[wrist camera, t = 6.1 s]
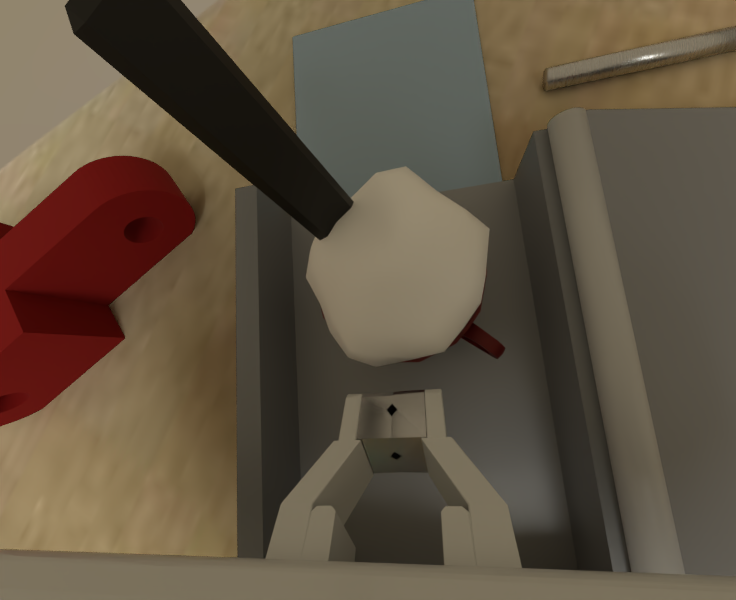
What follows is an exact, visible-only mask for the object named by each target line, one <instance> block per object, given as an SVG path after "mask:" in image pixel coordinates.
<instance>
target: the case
mask: <svg viewBox="0 0 736 600" xmlns="http://www.w3.org/2000/svg"><path fill="white" fill-rule="evenodd" d="M439 193H441V194H442V195H444V196H446V197H447V198H449V199H450V200H452V201H453V202H455V203H457V204H458V205H460V206H461V207H463V208H464V209H466V210H467V211H468V212H470V213H471V214H472V215H473V216H475V217H476V218H477V219H478V220H480V221H481V222H482V223H483V224H484V225H486V226H487V227H488V228H489V229H490V230H489V241H488V253H487V264H486V269H487V277H486V283H485V288H484V294H483V300H482V306H481V311H480V313H479V314H478V316H477V317H476V319H475V320H474V322H473V323H474V324H476V325H477V326H478V327H480V328H481V329H483V330H484V331H485V332H487V333H488V334H490V335H491V336H492V337H494V338H495V339H496V340H498V341H499V342H500V343H501V344H502V345H503V346H504V347H505V351H504V353H503V355H501V356H500V357H499V358H498V359H495V358H494V357H492V356H490V355H488V354H487V353H485V352H483V351H482V350H480V349H478V348H477V347H475V346H473V345H472V344H470V343H468V342H467V341H465V340H463V339H462V338H460V340H459V341H458V342H457V343H456V344H455V345H453V346H451V347H449V348H447V349H446V351H445V352H442V353H438V354H435V355H433V356H431V357H429V358H427V359H425V360H423V361H421V362H398V363H393V364H388V365H384V366H379V367H374V366H371V365H368V364H365V363H362V362H360V361H357V360H354V359H351V358H348V357H347V355H346V354H345V353H344V351H343V350H342V348H341V347H340V346H339V344H338V343H337V341H336V340H335V339H334V337H333V336H332V334H331V333H330V331H329V328H328V325H327V323H326V320H325V319H324V318H323V315H322V311H321V306H320V303H319V301H318V299H317V297H316V296H315V294H314V292H313V290H312V288H311V286H310V284H309V282H308V280H307V279H306V273H307V267H308V261H309V254H310V249H311V246H312V243H313V241H314V238H315V236H314V235H313V234H312V233H310V232H309V231H308V230H307V229H306V228H304V227H303V226H302V225H301V224H300V223H298V222H297V221H296V220H295V219H294V218H292V217H291V216H290V215H289V214H288V213H287V212H285V211H284V210H283V209H282V208H281V207H279V206H278V205H277V204H276V203H275V202H273V201H272V200H271V199H270V198H269V197H267V196H266V195H265V194H264V193H263V192H261V191H260V190H259V189H258V188H257V187H256V186H254V185H252V186H247V187H242V188H236V189H235V208H236V377H237V545H238V558H262V559H265V558H266V555H267V551H268V547H269V544H270V540H271V537H272V533H273V530H274V526H275V523H276V519H277V516H278V512H279V509H280V505H281V503H282V502H283V501H284V499H285V498H286V497H287V496H288V495H289V494H290V492H291V491H292V490H293V489H294V488H295V486H296V485H297V484H298V483H299V482H300V480H301V479H302V478H303V477H304V476H305V475H306V473H307V472H308V471H309V470H310V469H311V467H312V466H313V465H314V464H315V463H316V461H317V460H318V459H319V458H320V457H321V455H322V454H323V453H324V452H325V451H326V450H327V448H328V447H329V446H330V445H331V444H332V442H333V441H338V439H339V434H340V428H341V423H342V417H343V411H344V406H345V400H346V397H347V395H348V394H362V393H391V392H398V391H411V390H431V389H441V390H442V398H443V406H444V415H445V423H446V432H447V437H452V438H453V439H454V440H455V442H456V443H457V444H458V445H459V446H460V448H461V449H462V450H463V451H464V453H465V454H466V455H467V456H468V457H469V459H470V460H471V461H472V462H473V464H474V465H475V466H476V467H477V468H478V470H479V471H480V472H481V473H482V475H483V476H484V477H485V478H486V479H487V481H488V482H489V483H490V484H491V486H492V487H493V488H494V489H495V490H496V492H497V493H498V494H499V495H500V497H501V498H502V499H503V500H504V501H505V503H506V504H507V505H508V509H509V513H510V518H511V522H512V526H513V531H514V535H515V540H516V544H517V548H518V553H519V557H520V562H521V566H522V568H531V569H558V570H585V571H612V572H639V573H666V574H693V575H719V576H736V107H722V108H661V109H600V110H585V109H584V108H580V107H577V108H571V109H568V110H565V111H563V112H561V113H559V114H557V115H556V116H554V117H553V118H552V119H551V120H550V121H549V123H548V125H547V129H544V130H539V131H534V132H533V134H532V136H531V139H530V141H529V144H528V146H527V148H526V151H525V153H524V156H523V158H522V160H521V163H520V165H519V168H518V170H517V173H516V175H515V177H514V179H513V180H507V181H501V182H495V183H489V184H483V185H477V186H471V187H465V188H459V189H453V190H447V191H441V192H439ZM373 475H374V476H373V477H372V479H371V481H370V482H369V484H368V486H367V487H366V489H365V491H364V492H363V494H362V496H361V497H360V499H359V501H358V502H357V504H356V506H355V507H354V509H353V511H352V513H351V514H350V516H349V518H348V519H347V521H346V523H345V524H344V527H345V529H346V531H347V533H348V535H349V536H350V538H351V540H352V542H353V544H354V545H355V547H356V551H355V562H370V563H397V564H424V565H444V552H443V536H442V520H441V511H442V510H443V509H444V507H445V506H448V505H447V504H446V502H445V500H444V499H443V497H442V495H441V494H440V492H439V491H438V489H437V487H436V486H435V484H434V482H433V481H432V479H431V478H430V476H429V474H428V473H415V472H396V473H373Z"/></svg>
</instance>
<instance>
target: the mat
mask: <svg viewBox="0 0 736 600" xmlns="http://www.w3.org/2000/svg"><path fill="white" fill-rule="evenodd" d="M293 58H294V82H295V106H296V129H297V136H298V137H299V138H300V140H301V141H302V142H303V143H304V144H305V145H306V147H307V148H308V149H309V150H310V151H311V152H312V154H313V155H314V156H315V157H316V158H317V159H318V161H319V162H320V163H321V164H322V165H323V166H324V168H325V169H326V170H327V171H328V172H329V173H330V175H331V176H332V177H333V178H334V179H335V180H336V182H337V183H338V184H339V185H340V186H341V187H342V189H343V190H344V191H345V192H346V193H347V194H348V196H349V197H350V198H351V197H352V196H353V195H354V194H355V193H356V192H357V191H358V190H359V189H360V188H361V187H362V186H363V185H364V184H365V183H366V182H367V181H368V180H369V179H370V178H371V177H372V176H373V175H374V174H375V173H377V172H382V171H386V170H391V169H396V168H400V167H405V166H406V167H407V168H409V169H410V170H411V171H413V172H414V173H415V174H416V175H418V176H419V177H420V178H421V179H423V180H424V181H425V182H426V183H428V184H429V185H430V186H431V187H433V188H434V189H435V190H437V191H438V192H441V191H447V190H453V189H459V188H465V187H471V186H477V185H483V184H489V183H495V182H501V181H502V176H501V170H500V164H499V157H498V151H497V145H496V138H495V132H494V126H493V119H492V113H491V107H490V100H489V94H488V88H487V81H486V75H485V69H484V62H483V56H482V50H481V43H480V37H479V31H478V25H477V18H476V12H475V6H474V0H424V1H420V2H416V3H413V4H409V5H406V6H402V7H398V8H395V9H391V10H388V11H384V12H380V13H377V14H373V15H370V16H366V17H362V18H359V19H355V20H351V21H348V22H344V23H341V24H337V25H333V26H330V27H326V28H323V29H319V30H315V31H312V32H308V33H305V34H301V35H297V36H294V37H293Z"/></svg>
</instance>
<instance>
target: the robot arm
mask: <svg viewBox="0 0 736 600" xmlns="http://www.w3.org/2000/svg"><path fill="white" fill-rule="evenodd" d="M396 472H415V473H428V474H429V476H430V478H431V479H432V481H433V482H434V484H435V486H436V487H437V489H438V491H439V492H440V494H441V495H442V497H443V499H444V500H445V502H446V504H447V505H448V506H445V507H444V509H443V510H442V511H441V520H442V536H443V552H444V565H424V564H397V563H370V562H355V551H356V547H355V545H354V544H353V542H352V540H351V538H350V536H349V535H348V533H347V531H346V529H345V527H344V524H345V523H346V521H347V519H348V518H349V516H350V514H351V513H352V511H353V509H354V507H355V506H356V504H357V502H358V501H359V499H360V497H361V496H362V494H363V492H364V491H365V489H366V487H367V486H368V484H369V482H370V481H371V479H372V477H373V476H374V475H373V473H396ZM0 600H736V576H719V575H693V574H666V573H639V572H612V571H585V570H558V569H531V568H522V566H521V562H520V557H519V553H518V548H517V544H516V540H515V535H514V531H513V526H512V522H511V518H510V513H509V509H508V505H507V504H506V503H505V501H504V500H503V499H502V498H501V497H500V495H499V494H498V493H497V492H496V490H495V489H494V488H493V487H492V486H491V484H490V483H489V482H488V481H487V479H486V478H485V477H484V476H483V475H482V473H481V472H480V471H479V470H478V468H477V467H476V466H475V465H474V464H473V462H472V461H471V460H470V459H469V457H468V456H467V455H466V454H465V453H464V451H463V450H462V449H461V448H460V446H459V445H458V444H457V443H456V442H455V440H454V439H453V438H452V437H447V432H446V423H445V415H444V406H443V398H442V390H441V389H431V390H411V391H398V392H391V393H362V394H348V395H347V397H346V400H345V406H344V411H343V417H342V423H341V428H340V434H339V439H338V441H333V442H332V444H331V445H330V446H329V447H328V448H327V450H326V451H325V452H324V453H323V454H322V455H321V457H320V458H319V459H318V460H317V461H316V463H315V464H314V465H313V466H312V467H311V469H310V470H309V471H308V472H307V473H306V475H305V476H304V477H303V478H302V479H301V480H300V482H299V483H298V484H297V485H296V486H295V488H294V489H293V490H292V491H291V492H290V494H289V495H288V496H287V497H286V498H285V499H284V501H283V502H282V503H281V505H280V509H279V512H278V516H277V519H276V523H275V526H274V530H273V533H272V537H271V540H270V544H269V547H268V551H267V555H266V558H265V559H262V558H235V557H208V556H181V555H154V554H127V553H100V552H72V551H43V550H19V549H0Z"/></svg>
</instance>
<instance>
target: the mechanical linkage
mask: <svg viewBox="0 0 736 600" xmlns="http://www.w3.org/2000/svg"><path fill="white" fill-rule="evenodd" d="M194 226H195V214H194V211H193V209H192V207H191V206H190V204H189V203H188V201H187V200H186V198H185V197H184V195H183V194H182V193H181V191H180V190H179V188H178V187H177V185H176V184H175V182H174V181H173V179H172V178H171V176H170V175H169V174H168V172H167V171H166V170H164V169H163V168H162V167H161V166H159V165H157V164H156V163H154V162H151V161H149V160H146V159H143V158H139V157H133V156H112V157H106V158H102V159H98V160H95V161H93V162H90V163H88V164H86V165H84V166H83V167H81V168H79V169H78V170H77V171H76V172H74V173H73V174H72V175H71V176H70V177H69V178H68V179H67V180H65V181H64V182H63V183H62V184H61V185H60V186H59V187H58V188H57V189H55V190H54V191H53V192H52V193H51V194H50V195H49V196H48V197H47V198H46V199H44V200H43V201H42V202H41V203H40V204H39V205H38V206H37V207H36V208H34V209H33V210H32V211H31V212H30V213H29V214H28V215H27V216H26V217H25V218H23V219H22V220H21V221H20V222H19V223H18V224H17V225H16V226H15V227H13V226H10V225H6V224H3V223H0V426H2V425H5V424H8V423H11V422H14V421H17V420H19V419H22V418H24V417H26V416H29V415H31V414H33V413H35V412H37V411H39V410H41V409H43V408H44V407H45V406H46V405H47V404H48V403H50V402H51V401H52V400H53V399H54V398H56V397H57V396H58V395H59V394H60V393H61V392H63V391H64V390H65V389H66V388H67V387H68V386H70V385H71V384H72V383H73V382H74V381H76V380H77V379H78V378H79V377H80V376H81V375H83V374H84V373H85V372H86V371H87V370H88V369H90V368H91V367H92V366H93V365H94V364H95V363H97V362H98V361H99V360H100V359H101V358H103V357H104V356H105V355H106V354H107V353H108V352H110V351H111V350H112V349H113V348H114V347H115V346H117V345H118V344H119V343H120V342H121V341H123V340H124V339H125V336H124V334H123V333H122V331H121V329H120V327H119V325H118V323H117V321H116V319H115V317H114V315H113V314H112V312H111V310H110V308H109V306H108V305H109V304H110V303H112V302H113V301H114V300H115V299H116V298H117V297H119V296H120V295H121V294H122V293H123V292H124V291H126V290H127V289H128V288H129V287H130V286H131V285H132V284H134V283H135V282H136V281H137V280H138V279H139V278H141V277H142V276H143V275H144V274H145V273H146V272H148V271H149V270H150V269H151V268H152V267H153V266H154V265H156V264H157V263H158V262H159V261H160V260H161V259H163V258H164V257H165V256H166V255H167V254H168V253H170V252H171V251H172V250H173V249H174V248H175V247H176V246H178V245H179V244H180V243H181V242H182V241H183V240H185V239H186V238H187V237H188V236H189V235H190V234H192V232H193V230H194Z"/></svg>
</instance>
